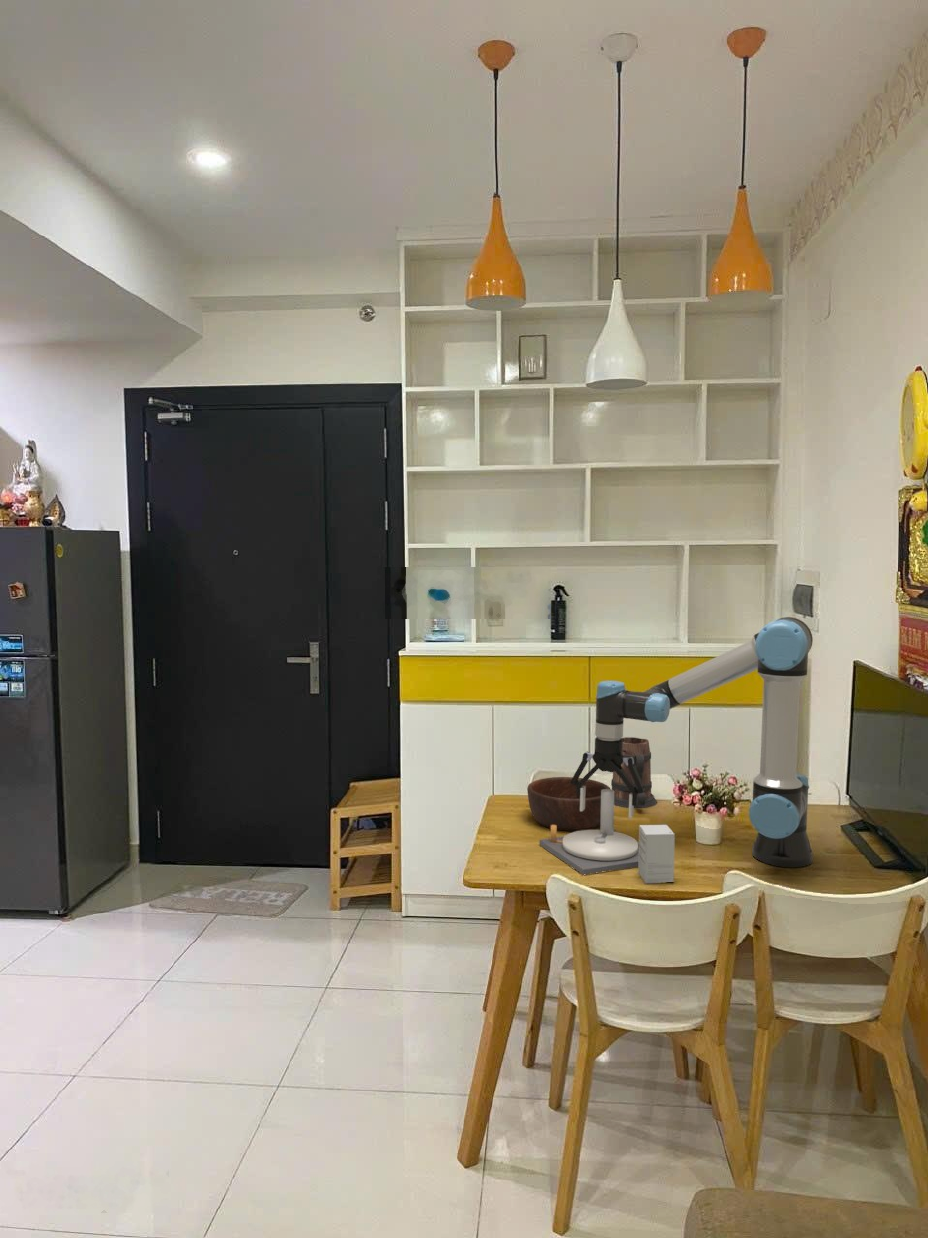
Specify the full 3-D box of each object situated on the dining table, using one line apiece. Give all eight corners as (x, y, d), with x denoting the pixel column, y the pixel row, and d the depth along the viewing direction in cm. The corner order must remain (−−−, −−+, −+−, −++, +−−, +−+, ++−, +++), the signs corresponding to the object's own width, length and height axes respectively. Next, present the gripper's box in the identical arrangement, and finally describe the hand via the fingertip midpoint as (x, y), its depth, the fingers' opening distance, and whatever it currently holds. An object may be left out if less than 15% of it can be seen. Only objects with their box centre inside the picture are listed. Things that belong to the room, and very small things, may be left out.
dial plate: (663, 863, 231) (664, 840, 231) (583, 875, 222) (583, 852, 222) (614, 834, 253) (614, 814, 253) (539, 845, 244) (539, 823, 244)
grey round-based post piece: (629, 865, 225) (630, 813, 223) (553, 854, 232) (554, 803, 231) (644, 841, 243) (645, 792, 242) (573, 831, 251) (574, 784, 249)
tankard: (600, 793, 295) (601, 734, 293) (650, 793, 296) (652, 734, 294) (614, 815, 272) (615, 751, 270) (668, 815, 272) (670, 751, 271)
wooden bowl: (617, 835, 253) (618, 800, 253) (530, 834, 253) (530, 799, 252) (603, 808, 278) (604, 776, 277) (523, 808, 278) (524, 776, 277)
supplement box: (666, 872, 225) (667, 824, 224) (674, 884, 217) (675, 833, 216) (637, 872, 224) (638, 824, 223) (644, 884, 217) (645, 834, 216)
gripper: (657, 739, 241) (654, 815, 243) (568, 730, 250) (566, 803, 252) (652, 745, 234) (649, 823, 236) (561, 735, 243) (558, 811, 245)
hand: (606, 813), depth 244 cm, fingers open, 13 cm apart
